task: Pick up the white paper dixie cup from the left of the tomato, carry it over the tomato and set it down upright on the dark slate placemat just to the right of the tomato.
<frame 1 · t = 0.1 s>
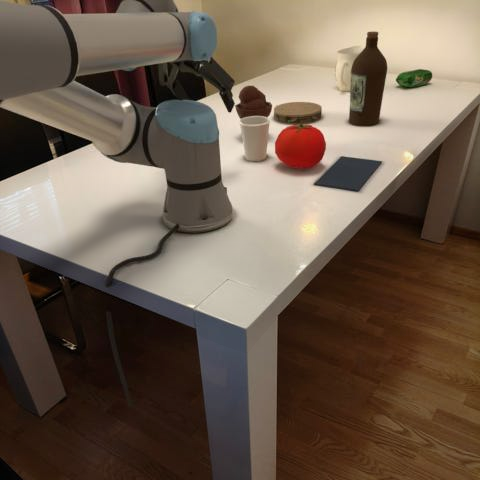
hand: (208, 105, 123), 15 cm above the table, tool tilted 35°, fingers open, 13 cm apart
dixie cup: (255, 158, 136), on the table
ice cream bowl: (254, 138, 149), on the table
placemat: (349, 173, 123), on the table
snack package: (412, 86, 189), on the table
tomato: (299, 167, 129), on the table
pitcher: (347, 90, 189), on the table
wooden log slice: (297, 118, 164), on the table
olive oil: (363, 122, 156), on the table
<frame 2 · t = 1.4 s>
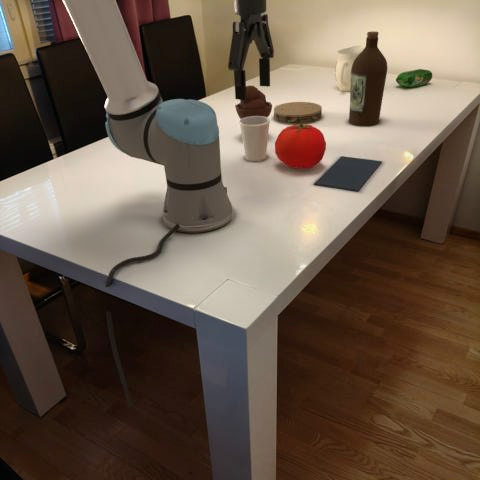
hand: (253, 92, 125), 17 cm above the table, tool pointing down, fingers open, 13 cm apart
nothing on the table moved.
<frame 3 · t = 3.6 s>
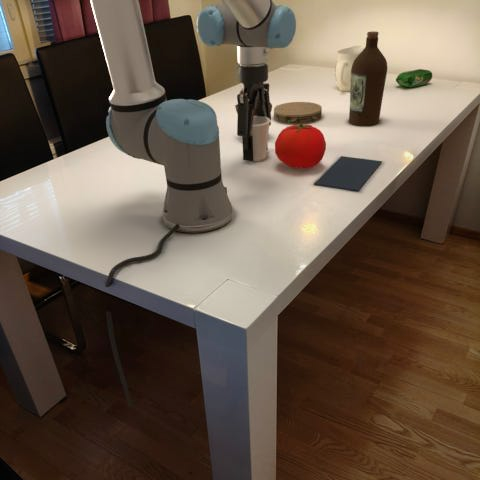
hand: (255, 154, 135), 1 cm above the table, tool pointing down, fingers closed on dixie cup, 8 cm apart
dixie cup: (255, 158, 136), on the table, touching gripper
everything else where it was.
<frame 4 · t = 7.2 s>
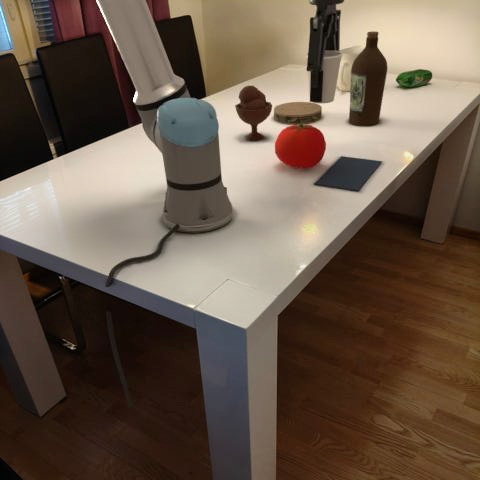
hand: (322, 96, 116), 17 cm above the table, tool pointing down, fingers closed on dixie cup, 8 cm apart
dixie cup: (321, 101, 117), point 16 cm above the table, touching gripper
everything else where it was.
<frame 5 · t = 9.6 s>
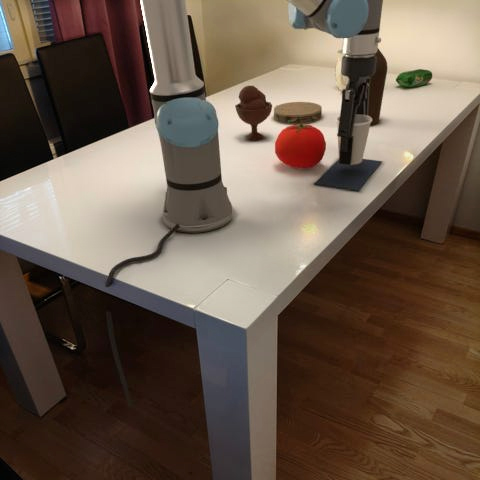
hand: (350, 157, 121), 4 cm above the table, tool pointing down, fingers closed on dixie cup, 8 cm apart
dixie cup: (350, 161, 121), point 3 cm above the table, touching gripper
everything else where it was.
when the fingers open (1 cm above the table, at t = 11.0 s): dixie cup stays where it is, resting on placemat.
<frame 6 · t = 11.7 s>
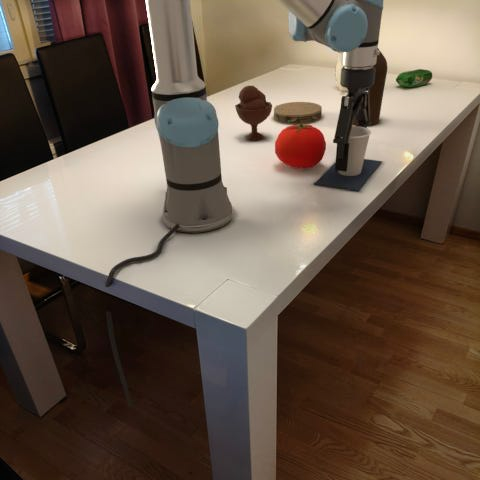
hand: (350, 161, 121), 3 cm above the table, tool pointing down, fingers open, 13 cm apart
dixie cup: (349, 172, 123), resting on placemat
everything else where it was.
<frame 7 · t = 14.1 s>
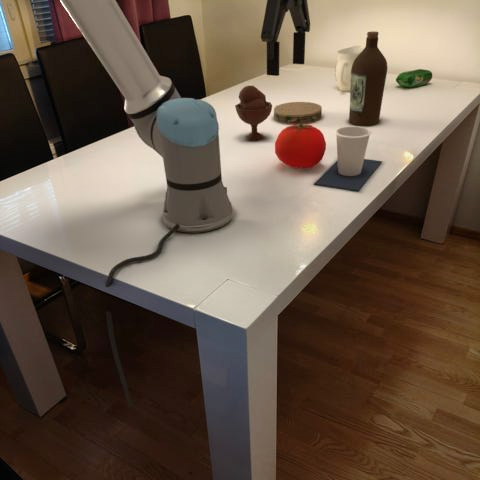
hand: (286, 69, 113), 24 cm above the table, tool pointing down, fingers open, 13 cm apart
nothing on the table moved.
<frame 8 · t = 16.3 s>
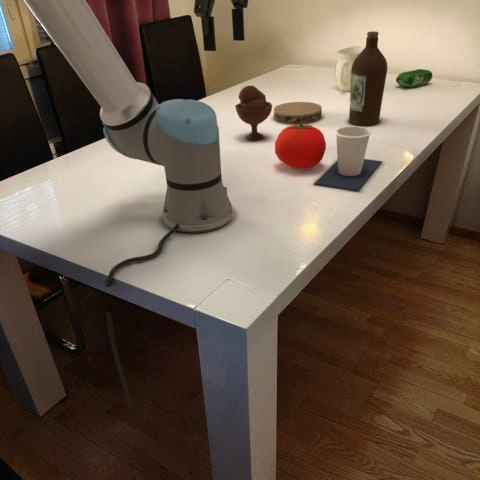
hand: (225, 45, 114), 29 cm above the table, tool pointing down, fingers open, 13 cm apart
nothing on the table moved.
at the end: dixie cup inside the target area on the table beside the tomato (0.3 cm from its centre), resting on placemat; dixie cup touching placemat; dixie cup tilted 0° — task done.
